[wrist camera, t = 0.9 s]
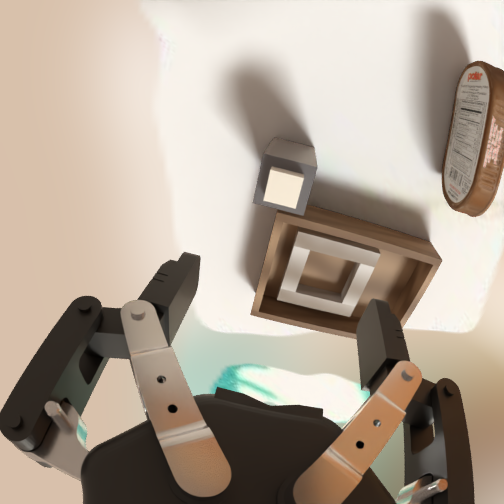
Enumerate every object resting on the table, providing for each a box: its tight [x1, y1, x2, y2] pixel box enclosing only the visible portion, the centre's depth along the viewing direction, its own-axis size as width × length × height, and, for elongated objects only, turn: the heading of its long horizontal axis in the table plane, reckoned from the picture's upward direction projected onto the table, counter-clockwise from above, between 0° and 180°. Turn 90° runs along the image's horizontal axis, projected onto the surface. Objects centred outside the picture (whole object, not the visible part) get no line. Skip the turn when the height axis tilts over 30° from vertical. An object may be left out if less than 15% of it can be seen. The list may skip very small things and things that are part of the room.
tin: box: [442, 61, 504, 217], centre depth 20 cm, size 15×3×8 cm, turn 176°
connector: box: [253, 137, 317, 216], centre depth 25 cm, size 4×4×9 cm
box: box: [250, 205, 442, 339], centre depth 32 cm, size 13×18×4 cm
